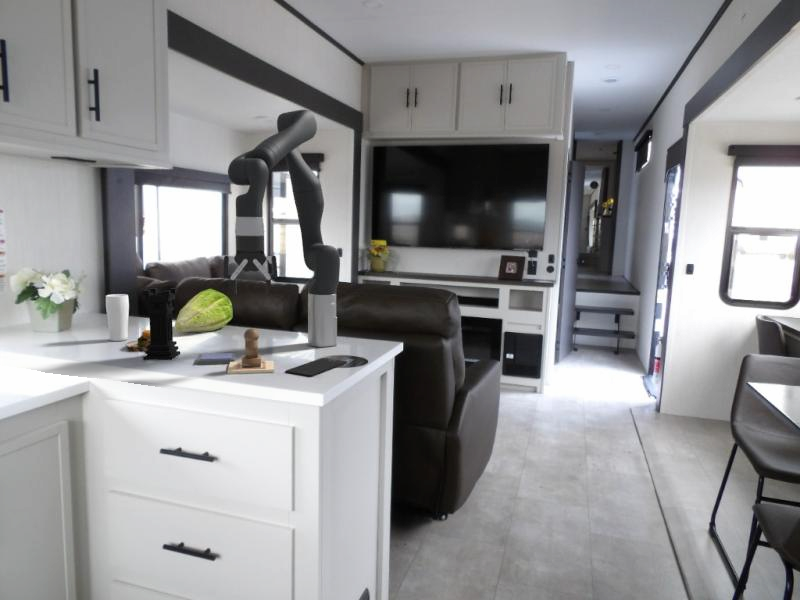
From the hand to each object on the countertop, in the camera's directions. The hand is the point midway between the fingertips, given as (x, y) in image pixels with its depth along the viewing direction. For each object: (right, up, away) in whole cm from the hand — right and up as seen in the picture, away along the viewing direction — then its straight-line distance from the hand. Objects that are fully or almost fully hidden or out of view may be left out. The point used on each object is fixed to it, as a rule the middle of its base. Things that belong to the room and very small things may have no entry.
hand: (251, 293), depth 152 cm
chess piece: (-29, -19, +11) cm, 36 cm away
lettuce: (-32, -13, +52) cm, 63 cm away
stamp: (0, -20, +1) cm, 20 cm away
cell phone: (+18, -22, +3) cm, 28 cm away
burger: (-39, -17, +22) cm, 48 cm away
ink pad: (-12, -19, +8) cm, 24 cm away
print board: (0, -21, +1) cm, 21 cm away
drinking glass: (-53, -15, +32) cm, 64 cm away
